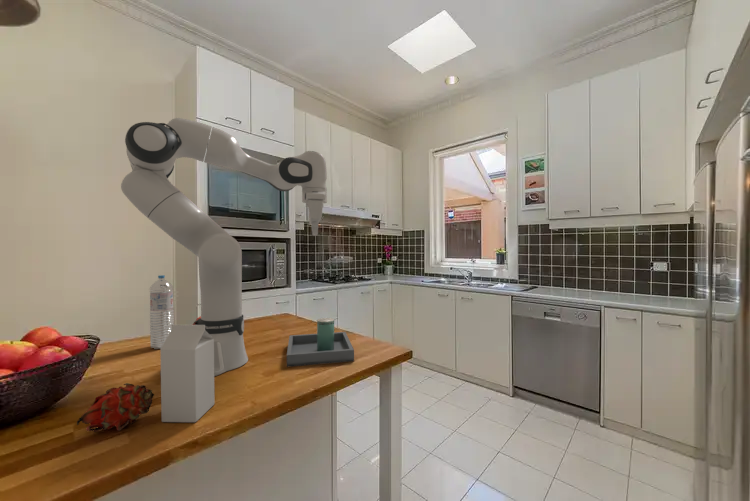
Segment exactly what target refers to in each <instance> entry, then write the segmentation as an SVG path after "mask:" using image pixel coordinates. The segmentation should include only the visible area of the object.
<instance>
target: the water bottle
mask: <svg viewBox="0 0 750 501" xmlns="http://www.w3.org/2000/svg"><path fill="white" fill-rule="evenodd" d="M149 300H150V301H149V305H150V306H149V307H150V308H149V309H150V310H149V319H150V320H149V325H150V330H149V332H150V333H149V334H150V338H149V339H150V340H149V341H150V348H151V349H152V348H154V349H153V350H160V349H161V347H162V345H163V344H164V342H165V340H166V339H167V337H168V335H169V333H170V332H171V330H172V325H175V324H174V321H175V317H174V313H175V312H174V285H172V283H171V282H170V281H168V280H167V279H165V275H161V274H160V275H159V274H158V276H157V280H156V281H154V282H153V283H152V285H151V286H150V287H149Z"/></svg>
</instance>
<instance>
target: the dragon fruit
mask: <svg viewBox="0 0 750 501" xmlns="http://www.w3.org/2000/svg"><path fill="white" fill-rule="evenodd" d="M123 386H124V387H123ZM123 386H119V387H111V388H108V389H107V390H106V391H105V393H103V394H101V395H98V396H96V397H95V399H94V400H93V402H92V404H91V405H90V406H89V407H88V408H87V410H86V411H85V412H84V413H83V414H82V415H81V416H80V417H79V418H78V420H77V421H76V426H79V425H80V424H81V423H82V424H84V425H88V426H87V427H86V429H85V430H86V432H94V433H95V432H96V433H97V432H100V431H102V430H104V431H106V429H107V430H110V429H112V428H114V427H116V430H117V431H118V432H119V431H122V429H124V428H126V426H128V424H133V423H135V422H137V420H138V419H139V416H140V415H145V414H147V413H149V412H150V407H151V406H152V404H153V398H154V396H155V394H154V392H153V390H152V389H151V388H147V387H146V385H134V384H132V383H128V382H125V383H124V384H123Z"/></svg>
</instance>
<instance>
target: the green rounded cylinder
mask: <svg viewBox="0 0 750 501" xmlns="http://www.w3.org/2000/svg"><path fill="white" fill-rule="evenodd" d="M316 325H317V326H316V334H317V351H329V350H334V333H335V319H334V318H332V317H331V318H330V317H321V318H318V319H317V321H316Z"/></svg>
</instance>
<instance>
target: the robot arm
mask: <svg viewBox="0 0 750 501" xmlns="http://www.w3.org/2000/svg"><path fill="white" fill-rule="evenodd" d="M124 138H125V139H124V143H125V147H126V155H127V158H128V161H129V163H130V167H131V169H132V170H131V172H129V173H127V174H126V175H125V176H124V177H123V179H122V181H121V184H120V189H121V191H122V193H123V195H124V196H125V197H126V198H127V200H129V202H130V203H131V204H132V205H133V206H134V207H135V208H136V209H137V210H138V211H139V212H140V213H142V215H144V216H145V217H146V218H147V219H148V220H150V221H151V222H152V223H153V224H155V225H156V226H157V227H158V228H159V229H161V230H162V231H163V232H164V233H166V234H167V235H168V236H170V238H171V239H172V240H175V241H176V242H177V243H179V244H180V245H181V246H183V247H184V248H186V249H187V250H188V251H190V252H191V253H192V254H194V255H195V256H196V257H197V258H198V276H199V288H200V316H198V317H197V318H196V320H195V321H193V323H192V324H191V325H205V330H206V331H207V332H208V333H209V334H210V335H211V336H212V337H213V338H214V377H216V376H219V375H222V374H223V373H225V372H229V371H232V370H235V369H237V368H240V367H242V366H243V365H245V364H246V363H247V362H248V361H249V357H248V354H247V350H246V347H245V341H244V331H245V318H244V314H243V302H242V301H243V298H242V297H243V293H242V292H243V291H242V290H243V289H242V288H243V287H242V286H243V282H242V281H243V280H242V279H243V276H242V275H243V272H242V271H243V263H242V262H243V258H242V256H243V255H242V254H243V251H242V250H243V249H242V246H241V245H240V243H239V242H238V241H237V239H236V238H235V237H233V236H232V235H231V234H229V233H228V232H227V230H225V229H224V228H223V227H222V226H220V225H219V224H218V223H217V222H216V221H215V220H213V218H211V217H210V216H209V215H208V214H207V213H206V212H205V211H203V210H202V209H201V208H200V207H199V206H198V205H197V204H195V203H194V202H193V201H192V200H191V199H190V198H189V197H188V196H186V195H185V193H183V192H182V191H181V190H180V189H179V188H177V187H176V186H175V185H173V184H172V183H171V181H170V180H169V177H170V176H171V174H172V173H173V171H174V168H175V163H176V160H177V159H181V158H187V159H194V160H196V161H199V162H204V163H205V164H209V165H212V166H216V167H221V168H225V169H228V170H231V171H232V170H233V171H238V172H240V173H242V174H246V175H248V176H251V177H254V178H256V179H260V180H262V181H264V182H266V183H268V184H269V185H270V186H272V187H273V188H274V189H275V190H277V191H280V192H289V191H292V190H293V189H294V188H296V187H297V186H298V187H301V192H302V193H301V199H302V200H301V201H302V203H304V204H305V207H306V208H308V224H309V225H311V226H310V228H311V236H313V237H316V236H318V235H319V224H320V222H322V219H323V218H322V216H323V208H324V204H327V202H328V189H327V183H326V182H327V177H328V176H327V174H328V172H327V161H326V159H325V157H324V155H323V154H322V153H319V152H317V151H313V150H307V151H304V152H303V153H301V154H300V155H296V156H292V157H291V156H289V157H285V158H283V159H282V160H281V161H279V162H278V163H276V164H272V163H269V162H266V161H264V160H261V159H258V158H256V157H253V156H251V155H249V154H248V153H246V152H245V151H244V150H243V149H242V147H241V146H240V144H239V141H238V140H237V139H236V137H234V136H233V135H231V134H230V133H228V132H226V131H224V130H221V129H219V128H217V127H214V126H211V125H208V124H205V123H203V122H199V121H195V120H191V119H187V118H182V117H181V118H180V117H176V118H175V117H174V118H172V119H170V120H169V121H168V123H167V124H166V123H164V122H159V123H158V122H150V121H143V122H142V121H141V122H137V123H134V124H133V125H131V126H130V127H129V128H128V130H127V132H126V134H125V137H124ZM159 374H160V376H161V372H160V373H159Z"/></svg>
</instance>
